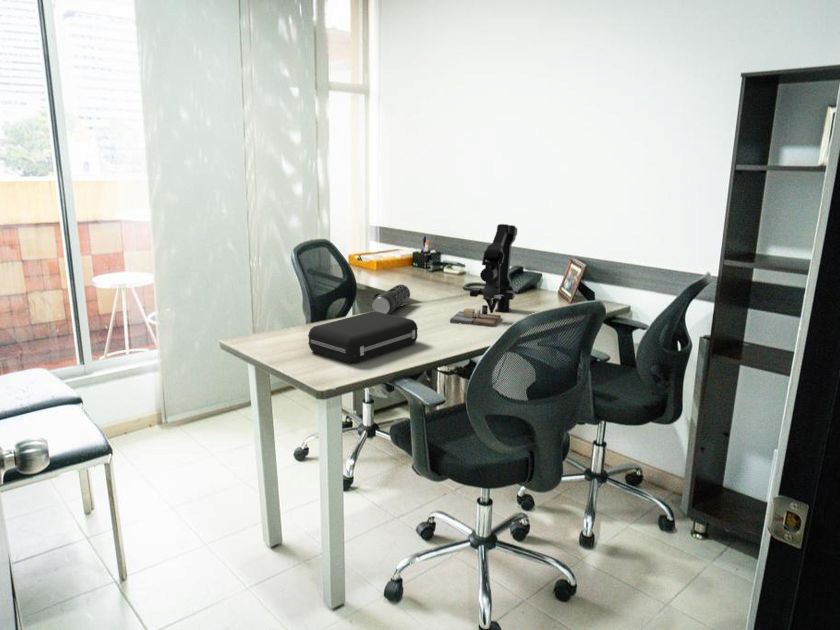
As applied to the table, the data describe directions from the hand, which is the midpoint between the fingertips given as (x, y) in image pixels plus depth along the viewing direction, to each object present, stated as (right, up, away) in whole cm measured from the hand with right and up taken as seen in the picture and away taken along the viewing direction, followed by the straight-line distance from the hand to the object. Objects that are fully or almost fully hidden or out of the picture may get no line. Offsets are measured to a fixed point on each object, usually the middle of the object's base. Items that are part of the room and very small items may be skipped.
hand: (491, 313), depth 270 cm
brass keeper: (-8, -2, +3) cm, 9 cm away
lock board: (-7, -3, +3) cm, 9 cm away
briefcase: (-54, -13, -34) cm, 65 cm away
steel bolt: (-6, -2, +2) cm, 6 cm away
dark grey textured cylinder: (-44, +1, +18) cm, 48 cm away
